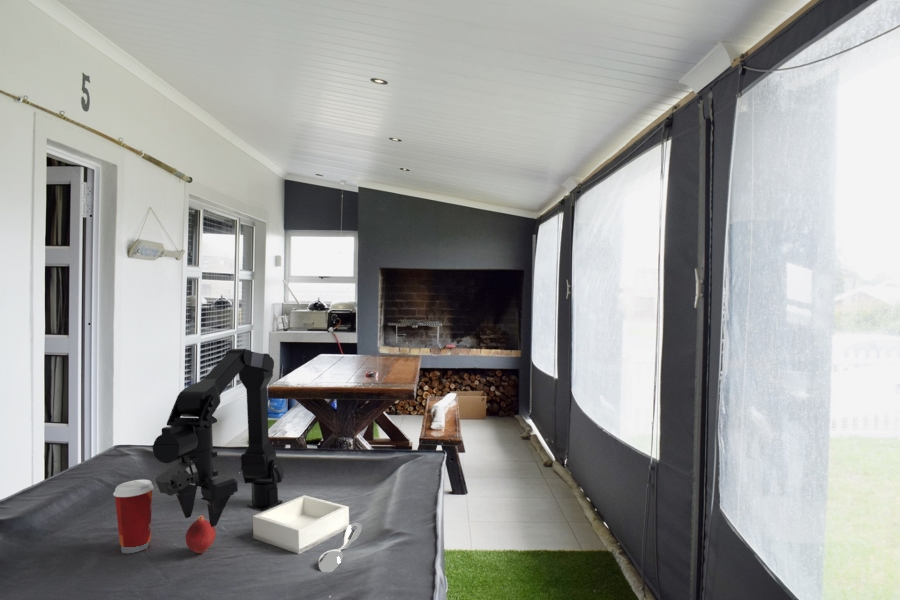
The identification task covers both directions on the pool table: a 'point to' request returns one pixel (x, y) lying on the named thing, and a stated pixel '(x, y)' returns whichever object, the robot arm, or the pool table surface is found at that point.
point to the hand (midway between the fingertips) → (200, 521)
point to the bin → (300, 523)
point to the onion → (200, 535)
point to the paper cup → (134, 512)
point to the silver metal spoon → (338, 550)
